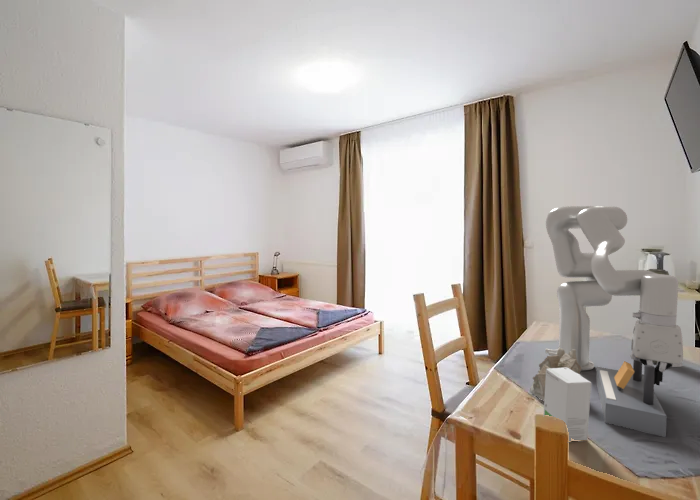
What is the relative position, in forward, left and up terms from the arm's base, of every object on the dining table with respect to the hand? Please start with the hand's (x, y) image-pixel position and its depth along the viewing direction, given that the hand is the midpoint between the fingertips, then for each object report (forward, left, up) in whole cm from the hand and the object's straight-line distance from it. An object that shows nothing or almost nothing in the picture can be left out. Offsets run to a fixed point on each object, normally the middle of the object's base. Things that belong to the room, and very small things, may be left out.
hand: (654, 382), depth 92 cm
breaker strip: (-6, 0, -8) cm, 10 cm away
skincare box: (-21, -23, -9) cm, 32 cm away
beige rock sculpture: (-24, 0, -9) cm, 26 cm away
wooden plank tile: (-8, 0, -2) cm, 8 cm away
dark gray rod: (-2, -8, -3) cm, 9 cm away
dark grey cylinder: (-2, +7, -3) cm, 8 cm away
